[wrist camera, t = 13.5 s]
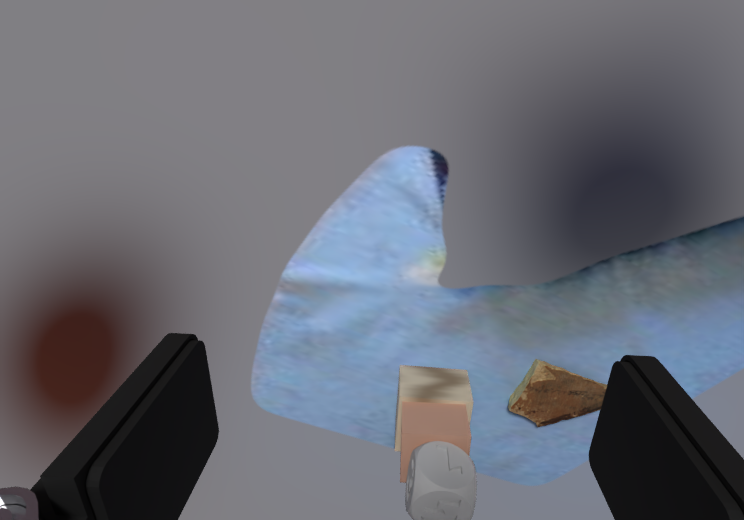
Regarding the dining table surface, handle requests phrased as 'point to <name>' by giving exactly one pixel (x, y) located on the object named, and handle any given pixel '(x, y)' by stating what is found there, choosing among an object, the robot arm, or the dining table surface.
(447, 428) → the tower top
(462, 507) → the die
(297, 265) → the dining table surface
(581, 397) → the shard
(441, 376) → the tower base
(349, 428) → the dining table surface
